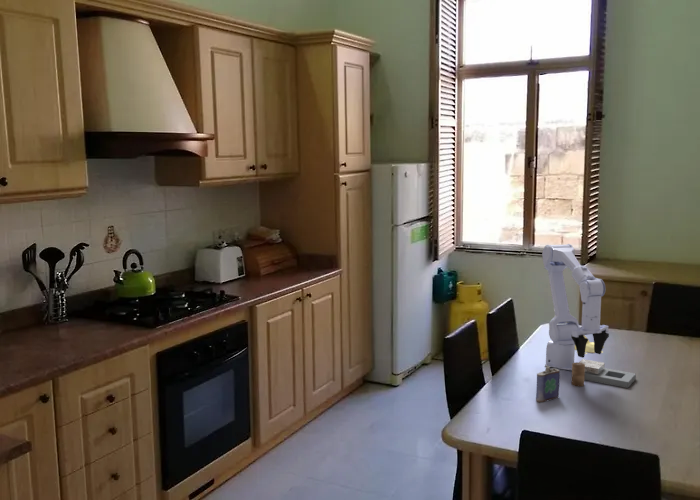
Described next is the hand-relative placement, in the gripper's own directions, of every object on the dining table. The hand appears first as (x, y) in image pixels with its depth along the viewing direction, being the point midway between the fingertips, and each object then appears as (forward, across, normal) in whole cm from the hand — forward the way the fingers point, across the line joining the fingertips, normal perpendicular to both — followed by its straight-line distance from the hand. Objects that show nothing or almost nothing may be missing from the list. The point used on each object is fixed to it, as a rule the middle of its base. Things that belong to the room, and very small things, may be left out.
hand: (589, 355), depth 224 cm
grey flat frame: (+9, +8, 0) cm, 12 cm away
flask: (+10, -22, -5) cm, 25 cm away
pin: (+10, -5, 0) cm, 11 cm away
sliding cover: (+7, +6, +4) cm, 10 cm away
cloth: (+10, +28, +29) cm, 41 cm away
